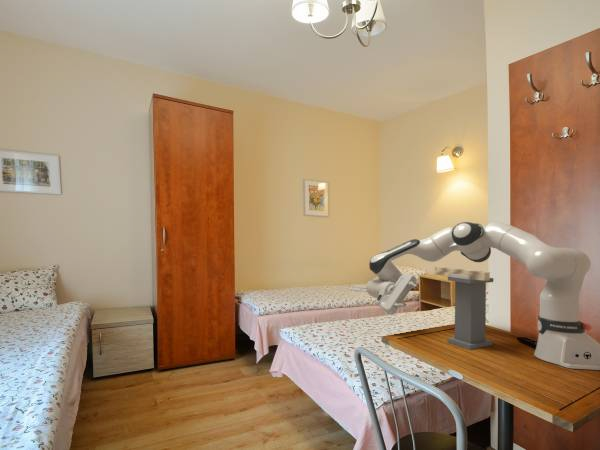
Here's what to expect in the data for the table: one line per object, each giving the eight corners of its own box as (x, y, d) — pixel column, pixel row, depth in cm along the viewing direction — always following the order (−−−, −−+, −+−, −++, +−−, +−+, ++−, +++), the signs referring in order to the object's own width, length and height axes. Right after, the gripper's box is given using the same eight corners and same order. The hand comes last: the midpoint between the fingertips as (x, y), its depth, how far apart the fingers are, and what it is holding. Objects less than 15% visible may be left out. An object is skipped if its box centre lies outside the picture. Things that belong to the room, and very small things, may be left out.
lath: (434, 274, 148) (434, 266, 149) (439, 273, 150) (439, 266, 150) (484, 280, 129) (484, 272, 129) (489, 280, 130) (489, 272, 130)
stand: (447, 342, 139) (447, 273, 140) (469, 338, 146) (470, 272, 146) (469, 349, 130) (470, 276, 131) (493, 344, 137) (493, 275, 138)
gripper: (407, 278, 163) (428, 281, 150) (382, 313, 157) (402, 320, 144) (398, 269, 161) (419, 272, 149) (373, 305, 156) (392, 310, 143)
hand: (410, 296), depth 146 cm, fingers open, 8 cm apart
